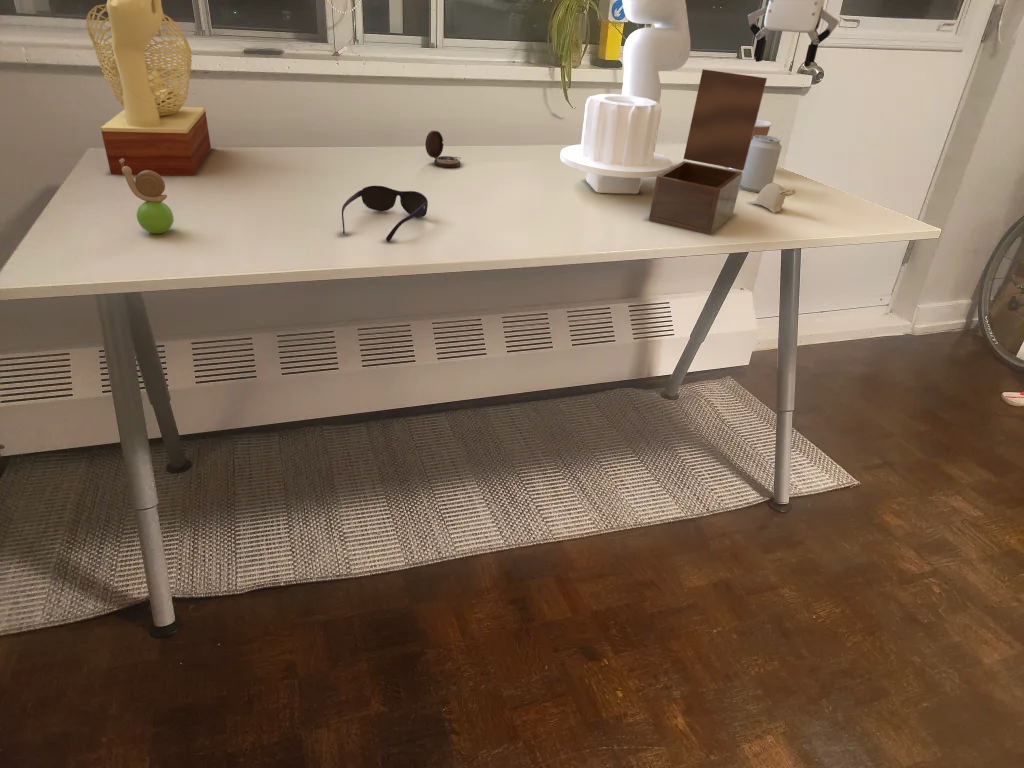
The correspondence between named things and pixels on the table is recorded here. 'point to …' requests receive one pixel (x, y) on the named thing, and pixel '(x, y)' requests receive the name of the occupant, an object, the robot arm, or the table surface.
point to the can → (760, 163)
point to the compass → (439, 150)
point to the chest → (695, 196)
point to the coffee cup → (759, 131)
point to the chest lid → (724, 118)
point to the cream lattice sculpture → (148, 92)
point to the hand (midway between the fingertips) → (782, 63)
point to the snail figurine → (150, 200)
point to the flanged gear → (618, 143)
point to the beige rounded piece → (773, 197)
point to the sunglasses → (391, 203)
